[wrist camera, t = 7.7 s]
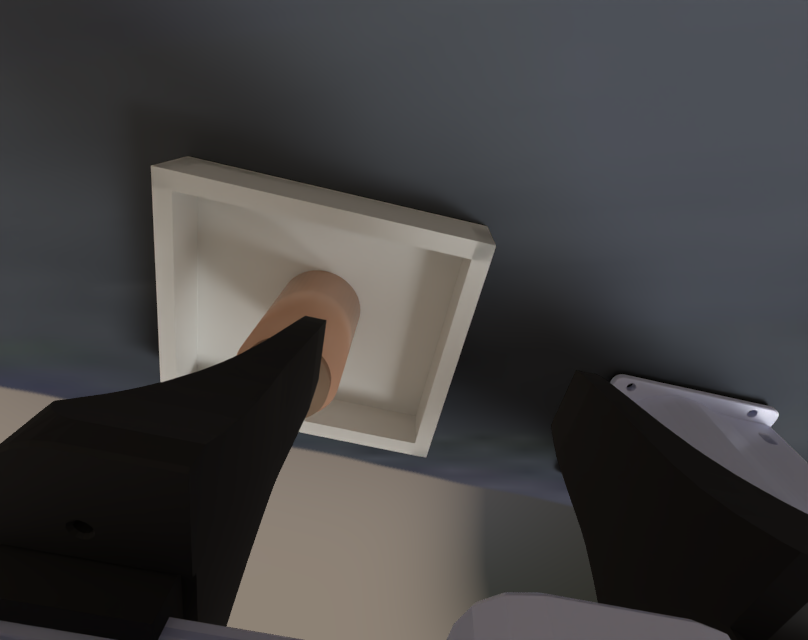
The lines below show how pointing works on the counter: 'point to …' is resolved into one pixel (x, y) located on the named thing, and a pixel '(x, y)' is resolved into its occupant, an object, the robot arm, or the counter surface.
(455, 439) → the counter surface
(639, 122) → the counter surface
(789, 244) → the counter surface
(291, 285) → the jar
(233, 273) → the tray
